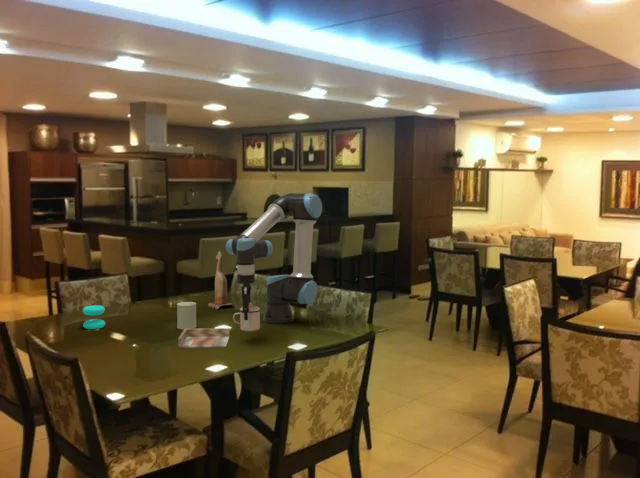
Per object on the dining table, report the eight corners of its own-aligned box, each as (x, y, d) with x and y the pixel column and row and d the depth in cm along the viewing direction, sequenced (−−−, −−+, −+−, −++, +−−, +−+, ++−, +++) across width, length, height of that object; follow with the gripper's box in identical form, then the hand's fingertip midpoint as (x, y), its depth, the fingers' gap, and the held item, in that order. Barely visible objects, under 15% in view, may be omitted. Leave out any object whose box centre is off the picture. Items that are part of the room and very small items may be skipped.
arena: (229, 337, 274) (229, 328, 273) (226, 347, 257) (225, 337, 256) (184, 337, 272) (184, 328, 272) (178, 347, 256) (178, 338, 255)
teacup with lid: (261, 325, 272) (260, 300, 270) (260, 331, 262) (259, 304, 261) (234, 326, 271) (233, 300, 270) (232, 331, 262) (231, 305, 261)
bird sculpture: (224, 304, 347) (222, 249, 345) (235, 307, 339) (234, 250, 336) (207, 307, 340) (205, 251, 337) (218, 310, 331) (216, 252, 329)
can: (192, 330, 286) (191, 305, 285) (173, 328, 288) (173, 304, 287) (199, 325, 295) (199, 301, 294) (182, 324, 297) (181, 300, 296)
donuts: (78, 306, 289) (98, 303, 296) (79, 327, 290) (99, 324, 297) (88, 310, 282) (108, 306, 289) (89, 331, 283) (109, 327, 290)
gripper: (239, 269, 275) (239, 318, 277) (235, 278, 253) (236, 330, 255) (255, 269, 275) (256, 318, 277) (253, 278, 253) (254, 330, 256)
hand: (246, 324), depth 266 cm, fingers closed on teacup with lid, 9 cm apart
